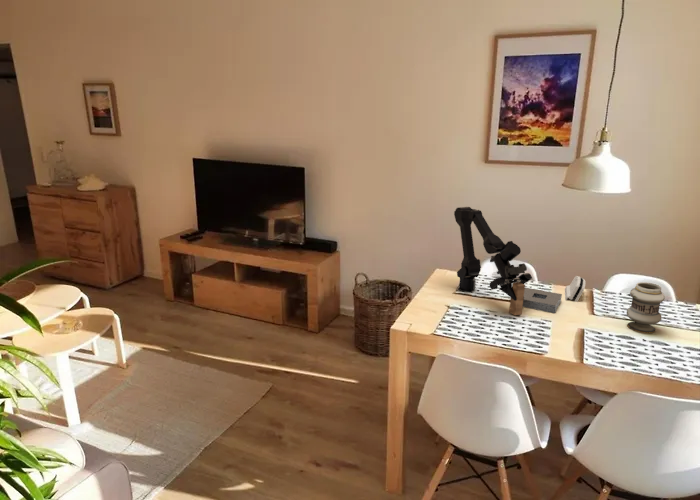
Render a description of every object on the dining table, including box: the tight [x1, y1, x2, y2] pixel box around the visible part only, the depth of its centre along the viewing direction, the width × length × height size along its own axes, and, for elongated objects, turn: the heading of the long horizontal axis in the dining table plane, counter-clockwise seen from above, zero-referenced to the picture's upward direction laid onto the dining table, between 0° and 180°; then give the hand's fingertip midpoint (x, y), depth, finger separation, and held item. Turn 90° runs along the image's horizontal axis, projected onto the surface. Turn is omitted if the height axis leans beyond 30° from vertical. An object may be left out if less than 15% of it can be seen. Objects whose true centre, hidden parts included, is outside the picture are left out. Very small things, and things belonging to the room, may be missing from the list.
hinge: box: [564, 275, 586, 303], centre depth 235 cm, size 17×5×10 cm, turn 158°
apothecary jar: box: [626, 281, 666, 334], centre depth 199 cm, size 12×12×18 cm
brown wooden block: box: [508, 282, 526, 316], centre depth 211 cm, size 4×4×13 cm
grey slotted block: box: [522, 286, 563, 314], centre depth 225 cm, size 16×16×4 cm
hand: (519, 299), depth 210 cm, fingers closed on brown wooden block, 3 cm apart
